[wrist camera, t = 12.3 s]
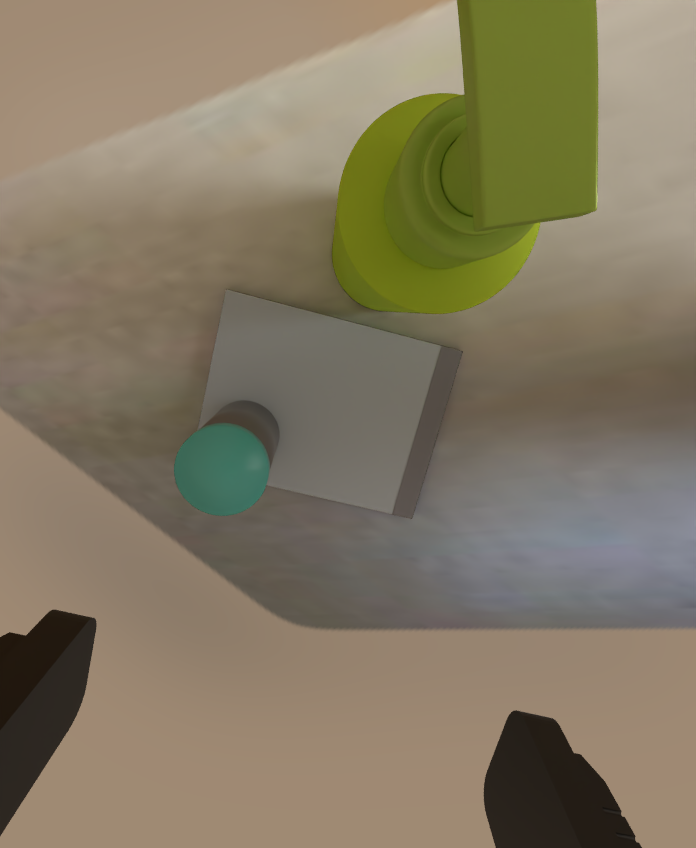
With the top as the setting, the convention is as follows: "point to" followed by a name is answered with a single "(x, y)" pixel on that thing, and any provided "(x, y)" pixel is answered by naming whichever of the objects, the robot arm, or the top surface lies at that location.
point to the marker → (228, 459)
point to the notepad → (334, 400)
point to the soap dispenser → (474, 163)
